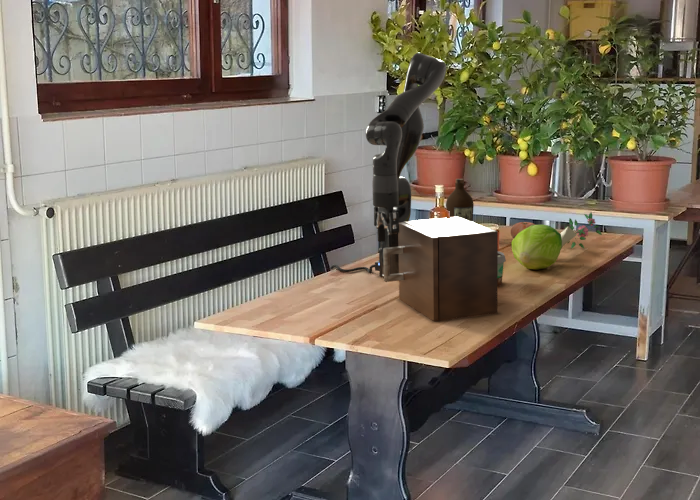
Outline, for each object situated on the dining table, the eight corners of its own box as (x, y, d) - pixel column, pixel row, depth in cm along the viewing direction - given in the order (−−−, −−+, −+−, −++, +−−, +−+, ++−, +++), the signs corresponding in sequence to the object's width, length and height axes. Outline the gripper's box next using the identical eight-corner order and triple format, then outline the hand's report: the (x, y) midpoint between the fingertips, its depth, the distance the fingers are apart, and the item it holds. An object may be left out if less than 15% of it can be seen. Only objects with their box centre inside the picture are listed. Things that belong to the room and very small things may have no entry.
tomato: (541, 244, 357) (541, 223, 356) (512, 245, 358) (513, 224, 356) (536, 238, 368) (536, 218, 366) (508, 239, 368) (508, 219, 366)
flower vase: (541, 279, 334) (577, 240, 360) (572, 273, 326) (607, 234, 352) (530, 249, 332) (567, 213, 358) (560, 243, 324) (596, 206, 350)
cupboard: (439, 321, 261) (438, 236, 256) (404, 298, 285) (403, 221, 280) (497, 313, 266) (497, 231, 261) (458, 292, 291) (458, 216, 286)
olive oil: (442, 241, 368) (442, 178, 363) (468, 239, 370) (467, 176, 365) (451, 246, 358) (451, 181, 353) (477, 244, 360) (477, 180, 355)
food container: (504, 289, 292) (505, 258, 290) (484, 289, 294) (485, 258, 292) (506, 280, 304) (506, 250, 302) (487, 279, 305) (487, 249, 303)
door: (414, 323, 259) (412, 239, 254) (381, 301, 283) (379, 224, 278) (438, 320, 261) (438, 237, 256) (403, 298, 285) (402, 222, 280)
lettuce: (503, 278, 316) (496, 235, 313) (530, 261, 331) (524, 219, 328) (548, 279, 306) (542, 234, 302) (573, 261, 321) (568, 218, 317)
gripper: (364, 187, 278) (366, 241, 282) (382, 193, 265) (383, 249, 268) (388, 185, 281) (389, 238, 284) (406, 191, 268) (407, 247, 271)
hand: (386, 244), depth 276 cm, fingers open, 8 cm apart
